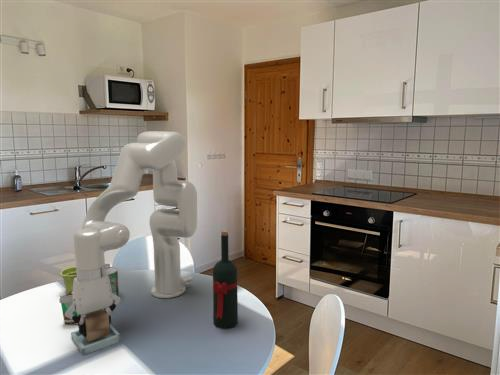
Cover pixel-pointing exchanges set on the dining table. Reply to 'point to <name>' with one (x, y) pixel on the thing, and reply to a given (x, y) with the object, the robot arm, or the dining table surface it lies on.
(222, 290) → the wine bottle
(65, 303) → the food container
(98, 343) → the tray
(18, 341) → the dining table surface
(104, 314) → the cube
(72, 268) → the plant pot
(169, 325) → the dining table surface
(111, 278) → the canned tomato
